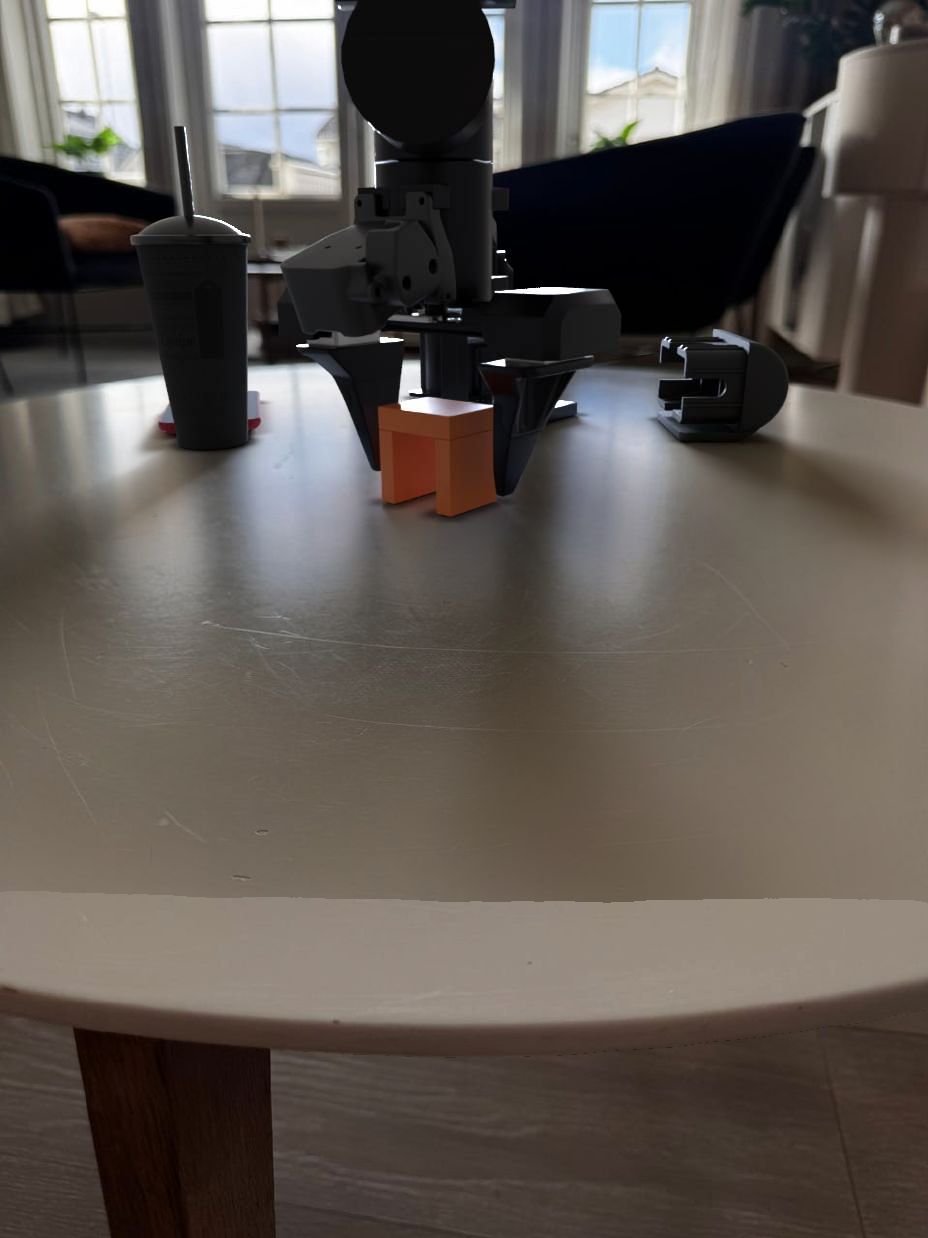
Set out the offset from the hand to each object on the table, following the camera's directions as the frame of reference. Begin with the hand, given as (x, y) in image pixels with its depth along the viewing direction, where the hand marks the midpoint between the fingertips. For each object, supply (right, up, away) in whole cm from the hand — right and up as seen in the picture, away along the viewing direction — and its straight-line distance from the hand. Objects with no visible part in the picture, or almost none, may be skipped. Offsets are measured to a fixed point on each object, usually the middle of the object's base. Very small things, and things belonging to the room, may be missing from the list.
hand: (439, 481), depth 51 cm
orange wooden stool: (0, -1, 0) cm, 1 cm away
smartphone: (-19, +9, +24) cm, 32 cm away
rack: (+4, +8, +22) cm, 24 cm away
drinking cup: (-17, +5, +15) cm, 23 cm away
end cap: (+20, +7, +19) cm, 28 cm away
